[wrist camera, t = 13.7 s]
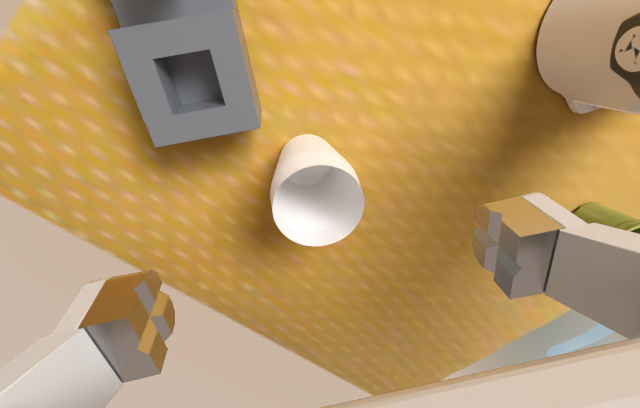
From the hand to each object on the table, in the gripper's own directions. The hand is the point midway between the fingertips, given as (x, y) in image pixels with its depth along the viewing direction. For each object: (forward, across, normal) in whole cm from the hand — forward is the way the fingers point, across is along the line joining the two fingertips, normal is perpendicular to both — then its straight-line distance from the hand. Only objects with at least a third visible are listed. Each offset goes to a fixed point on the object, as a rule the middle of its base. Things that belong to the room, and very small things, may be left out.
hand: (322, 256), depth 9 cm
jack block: (+33, +8, -6) cm, 35 cm away
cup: (+33, -1, +11) cm, 35 cm away
